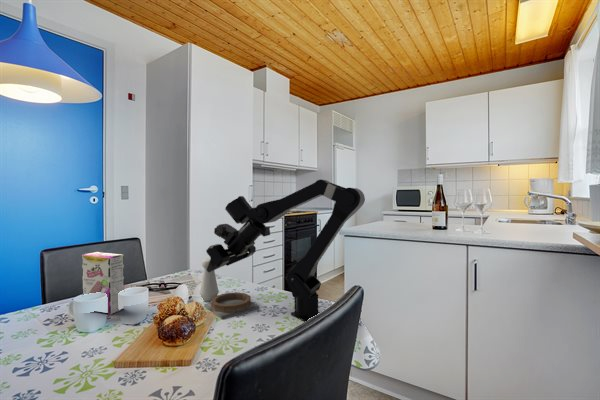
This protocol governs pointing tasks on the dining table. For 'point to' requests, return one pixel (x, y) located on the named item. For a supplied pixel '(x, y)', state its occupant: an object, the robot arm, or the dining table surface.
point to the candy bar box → (104, 276)
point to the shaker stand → (231, 304)
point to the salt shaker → (208, 283)
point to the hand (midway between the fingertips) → (217, 267)
